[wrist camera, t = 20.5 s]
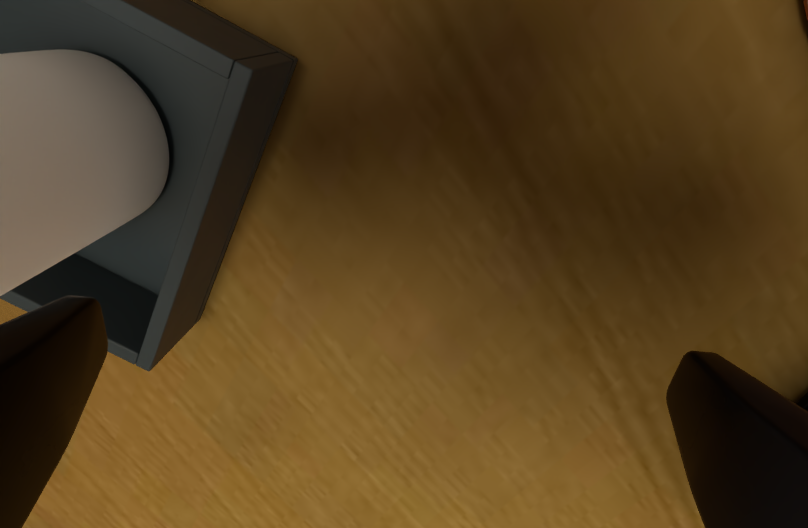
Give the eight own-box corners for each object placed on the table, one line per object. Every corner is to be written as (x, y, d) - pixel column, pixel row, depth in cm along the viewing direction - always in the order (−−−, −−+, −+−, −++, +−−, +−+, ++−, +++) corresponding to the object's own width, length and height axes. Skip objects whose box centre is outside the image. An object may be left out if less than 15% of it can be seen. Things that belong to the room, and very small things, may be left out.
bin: (298, 58, 19) (253, 70, 16) (200, 319, 25) (149, 372, 21) (-29, -119, 19) (-155, -149, 15) (-59, 189, 24) (-157, 222, 20)
